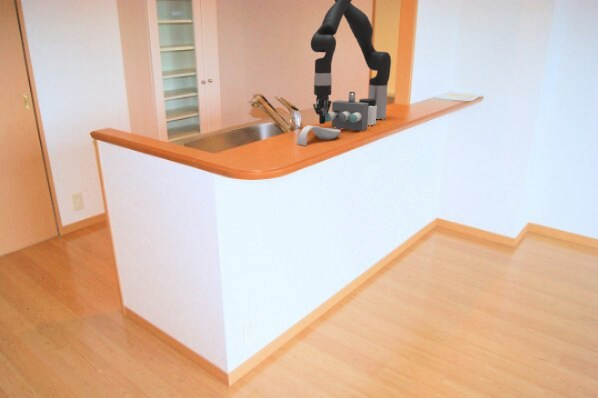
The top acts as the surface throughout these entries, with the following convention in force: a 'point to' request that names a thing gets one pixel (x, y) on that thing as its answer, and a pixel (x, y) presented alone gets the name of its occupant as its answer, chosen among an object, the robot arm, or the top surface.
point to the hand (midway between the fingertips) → (322, 123)
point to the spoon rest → (317, 134)
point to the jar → (371, 110)
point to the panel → (352, 108)
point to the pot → (351, 97)
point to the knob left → (330, 116)
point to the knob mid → (343, 116)
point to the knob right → (355, 117)
